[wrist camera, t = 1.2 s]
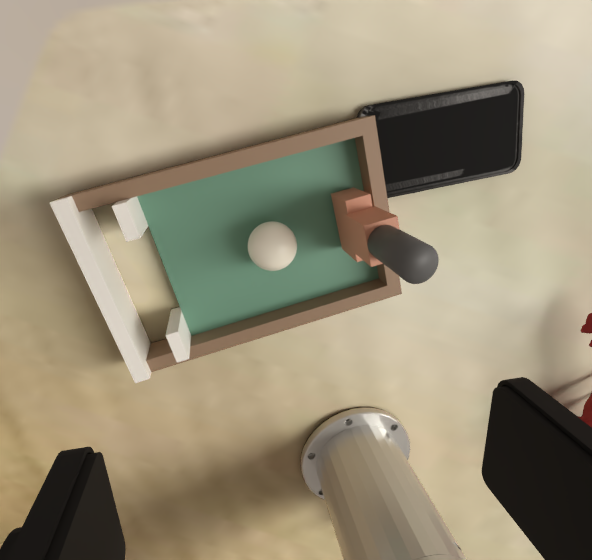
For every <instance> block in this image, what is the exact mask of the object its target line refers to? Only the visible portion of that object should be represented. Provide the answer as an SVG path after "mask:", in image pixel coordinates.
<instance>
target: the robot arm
mask: <svg viewBox="0 0 592 560" xmlns="http://www.w3.org/2000/svg"><path fill="white" fill-rule="evenodd" d="M409 453H410V440H409V437H408V433H407V432H406V430H405V428H404V427H403V425H402V424H401V423H400V421H399V420H398V419H397V418H396V417H394V416H393V415H392V414H390V413H388V412H386V411H384V410H380V409H376V408H356V409H351V410H347V411H344V412H341V413H339V414H337V415H335V416H333V417H331V418H329V419H328V420H326V421H325V422H323V423H322V424H321V425H320V426H319V427H318V428H317V429H316V430H315V431H314V432H313V433H312V434H311V436H310V437H309V438H308V440H307V442H306V444H305V446H304V448H303V451H302V455H301V470H302V474H303V478H304V481H305V483H306V485H307V486H308V488H309V489H310V490H311V491H312V492H313V493H314V494H315V495H317V496H318V497H320V498H322V499H324V500H325V501H326V504H327V508H328V511H329V514H330V517H331V520H332V524H333V527H334V530H335V533H336V536H337V540H338V543H339V546H340V549H341V552H342V556H343V559H344V560H467V558H466V557H465V555H464V553H463V552H462V550H461V548H460V547H459V545H458V543H457V542H456V540H455V538H454V537H453V535H452V533H451V532H450V530H449V528H448V527H447V525H446V523H445V522H444V520H443V518H442V517H441V515H440V513H439V512H438V510H437V508H436V507H435V505H434V503H433V502H432V500H431V498H430V497H429V495H428V493H427V492H426V490H425V488H424V487H423V485H422V483H421V482H420V480H419V478H418V477H417V475H416V473H415V472H414V470H413V468H412V467H411V465H410V463H409V462H408V458H409ZM482 476H483V479H484V481H485V484H486V485H487V487H488V488H489V489H490V490H491V492H492V493H493V494H494V496H495V497H496V498H497V499H498V501H499V502H500V503H501V504H502V506H503V507H504V508H505V510H506V511H507V512H508V513H509V515H510V516H511V517H512V518H513V520H514V521H515V522H516V523H517V525H518V526H519V527H520V529H521V530H522V531H523V532H524V534H525V535H526V536H527V537H528V539H529V540H530V541H531V543H532V544H533V545H534V546H535V548H536V549H537V550H538V551H539V553H540V554H541V555H542V557H543V558H544V559H545V560H592V427H590V426H589V425H588V424H586V423H585V422H584V421H582V420H581V419H580V418H579V417H577V416H576V415H575V414H573V413H572V412H571V411H569V410H568V409H567V408H565V407H564V406H563V405H562V404H560V403H559V402H558V401H556V400H555V399H554V398H552V397H551V396H550V395H548V394H547V393H546V392H545V391H543V390H542V389H541V388H539V387H538V386H537V385H535V384H534V383H533V382H531V381H530V380H529V379H527V378H523V377H521V378H515V379H509V380H503V381H500V383H499V384H498V387H497V388H495V389H494V391H493V396H492V403H491V410H490V417H489V423H488V430H487V437H486V444H485V451H484V458H483V465H482ZM0 560H125V541H124V536H123V533H122V529H121V525H120V521H119V517H118V513H117V509H116V505H115V501H114V497H113V493H112V489H111V486H110V482H109V478H108V474H107V470H106V466H105V462H104V458H103V455H102V453H101V452H98V453H94V451H93V449H92V448H91V447H84V448H78V449H72V450H65V451H61V452H60V453H59V454H58V456H57V457H56V459H55V461H54V463H53V465H52V467H51V469H50V471H49V473H48V476H47V478H46V480H45V482H44V484H43V486H42V488H41V490H40V492H39V494H38V496H37V498H36V500H35V502H34V504H33V506H32V508H31V510H30V512H29V514H28V516H27V518H26V520H25V522H24V524H23V526H22V527H21V528H16V529H14V530H13V531H12V532H11V533H10V534H9V535H8V536H7V538H6V540H5V541H4V543H3V545H2V547H1V549H0Z"/></svg>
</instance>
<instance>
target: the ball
mask: <svg viewBox="0 0 592 560" xmlns="http://www.w3.org/2000/svg"><path fill="white" fill-rule="evenodd" d="M296 251H297V241H296V238H295V235H294V234H293V232H292V231H291V229H290V228H288V227H287V226H286V225H284V224H282V223H279V222H274V221H270V222H265V223H262V224H260V225H259V226H257V227H256V228H255V229H254V230H253V231H252V233H251V234H250V237H249V239H248V253H249V256H250V258H251V259H252V261H253V262H254V263H255V264H256V265H257V266H258V267H260V268H262V269H264V270H268V271H277V270H281V269H283V268H285V267H286V266H288V265H289V264H290V263H291V262H292V260H293V259H294V257H295V255H296Z"/></svg>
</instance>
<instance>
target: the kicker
mask: <svg viewBox="0 0 592 560" xmlns="http://www.w3.org/2000/svg"><path fill="white" fill-rule="evenodd" d="M331 197H332V202H333V207H334V212H335V217H336V222H337V227H338V232H339V237H340V242H341V246H342V249H343V250H344V251H345V252H346V253H347V254H348V255H349V256H351V257H352V258H353V259H354V260H355V261H356V262H360V261H365V262H366V263H367V264H368V265H369V266H371V267H373V266H376V265H379V264H384V265H386V266H387V267H388V268H389V269H391V270H392V271H393V272H395V273H396V274H397V275H399V276H400V277H401V278H403V279H404V280H405V281H407V282H409V283H412V284H419V283H422V282H425V281H427V280H428V279H429V278H431V276H432V275H433V274H434V273H435V271H436V269H437V266H438V254H437V252H436V250H435V249H434V248H433V247H432V246H430V245H428V244H426V243H424V242H422V241H420V240H418V239H417V238H415V237H413V236H411V235H409V234H407V233H405V232H403V231H401V230H399V224H398V217H397V216H396V215H394V214H391V213H389V212H387V211H385V210H382V209H380V208H378V207H376V206H374V207H373V206H372V200H371V194H369V193H366V192H364V191H361V190H359V189H356V188H349V189H346V190H342V191H338V192H335V193H331Z"/></svg>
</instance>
